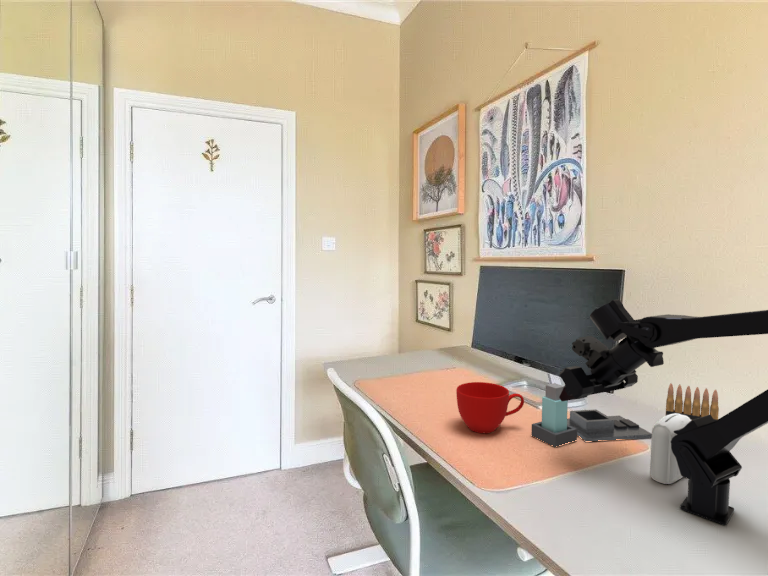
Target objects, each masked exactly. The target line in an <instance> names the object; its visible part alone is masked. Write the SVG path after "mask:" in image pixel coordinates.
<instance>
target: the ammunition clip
mask: <svg viewBox="0 0 768 576" xmlns="http://www.w3.org/2000/svg"><path fill="white" fill-rule="evenodd" d="M676 388H677V389H676V394H674V391H675V390H674V385H673V383H672V382H671V383H670V384H669V385H668V389H667V395H666V400H665V401H666V403H665V415H664V417H665V416H667V415H669V414H674V413H678V414H681V415H686V416H688V417H689V418H690V419H691V420H694V419H697V418H701V417H704V416H707V415H711V416H712V417H713V419H714V420H715V421H716V420H718V419H719V414H720V413H719V411H720V409H719V394H718V391H717V389H714V390H713V393H712V396H711V401H710V394H709V389H708V388H707V387H705V389H704V391H703V394H702V402H701V392H700V388H699V387H698V386H696V387H695V390H694V394H693V400H692V391H691V387H690V385H687V386H686V389H685V394H684V400H683V389H682V385H681V384H679V385H678V386H677V387H676ZM674 395H675V396H674ZM674 397H675V398H674ZM692 401H693V402H692ZM710 402H711V403H710Z"/></svg>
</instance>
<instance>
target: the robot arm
mask: <svg viewBox="0 0 768 576" xmlns="http://www.w3.org/2000/svg"><path fill="white" fill-rule="evenodd" d="M589 318H590V319H591V321H592V322H593V324H594V325H595V326H596V328H597V329H598V330H599V332H600V333H601V334H602V336H603V337H604V338H605V340H607V341H608V340H613V342H618V343H617V344H616V345H614V346H613V347H612V348H608V346H607V345H605V344H604V343H603V342H601V341H600V340H599V339H597V338H596V337H594V336H592V335H587V336H580V337H578V338H576V340H575V341H573V342H572V343H571V345H572V346H571V351H572V352H573V353H575V354H576V355H577V356H579V357H582V358H584V360H586V362H585V365H586V367H587V368H588V369H590V370H589V371H590V374H587V373H586V372H585V370H584V368H583V367H582V366H578V365H574V366H573V365H572V366H569V367H565V368H563V369H562V370H561V371H560V372H559V377H560V379H561V380H562V382H563V384H564V385H563V386H564V388H563V390H562V392H561V394H560V396H559V398H560V400H561V401H568V402H569V401H574V400H575V401H576V400H580V399H585V398H588V396H591V395H597V394H601V393H607V392H612V391H619V390H623V389H627V388H629V387H633V386H634V385H635V384H637V383H638V380H639V377H638V375H637V371H636V370H637V369H638V368H640V367H641V366H642V365H644V364H645V363H647V364H648V366H649V367H651V368H654V367H659V366H662V365H664V351H659V350H657V349H656V348H661V347H666V346H671V345H672V346H673V345H678V344H681V343H686V342H690V341H693V340H696V339H712V338H725V337H727V338H728V337H742V336H760V335H768V309H762V310H755V311H745V312H744V311H743V312H733V313H725V314H716V315H705V316H692V315H684V314H659V315H651V316H644V317H643V318H640V319H639V318H638V319H634V318H633V316H632V315H631V314H630V313H629V311H628V310H627V309H626V308H625V306H624V303H622V301H621V300H620V299H612V300H611V301H609V302H608V303H606V304H603V305H601V306H599V307H598V308H596V309H594V310H593V311H592V312H591V313H590V315H589ZM767 424H768V389H766V390H764V391H762V392H761V393H759V394H758V395H756V396H754V397H753V398H751V399H749V400H748V401H746V402H744V403H743V404H741V405H739V406H738V407H737V408H735V409H733V410H731V411H730V412H728V413H726V414H724V415H723V416H722V417H719V418H718V420H716V421H715V420H714V419H713V417H712V416H711V415H710V414H709V415H707V416H704V417H701V418H697V419H694V420H691V421H690V422H689V423H688V424H687V425H686V426H685V427H684V428H681V429H678V430H675V431H674V433H676V434H677V435H675V436H674V437H673V438H672V439H671V449H672V452H673V454H674V456H675V457H676V460H677V464H678V467H679V470H680V474H681V476H683V477H682V478H685V479H687V480H688V481H687V483H688V484H687V496H686V498H684V500H683V501H682V503H680V506H679V508H680V510H683V511H685V512H687V513H690V514H693V515H696V516H698V517H701V518H704V519H706V520H709V521H712V522H714V523H716V524H720V525H722V526H728V523H729V522H730V519H731V518H732V516H733V514H734V512H735V508H734V507H733V506H730V505H729V504H730V503H729V501H730V490H731V489H730V487H731V478H733V477H736V476H738V475H739V473H740V472H741V470H743V469H742V468H743V467H742V464H741V463H740V462H739V460H737V458H736V457H735V456H734V455H733V454H732V453H731V451H732V450H733V449H734V448H735V446H736V445H737V444H738V443H739V441H740V440H741V439H742V438H744V437H745V436H748V435H749V434H751V433H753V432H754V431H756V430H758V429H760V428H762V427H763V426H766V425H767Z"/></svg>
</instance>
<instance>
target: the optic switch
mask: <svg viewBox="0 0 768 576" xmlns="http://www.w3.org/2000/svg"><path fill="white" fill-rule="evenodd" d="M567 425H569V426H571V427H574V428H576V429H577V435H578V436H580V437H581V438H582V439H584V440H585V441H598V440H616V439H634V440H644V439H645V440H646V439H652V432H649V431H648V430H646V429H644V428H642V427H640V425H639V424H638V423H636V422H634V421H632V420H630V419H628V418H627V419H626V418H625V417H623V416H621V415H607V414H604V413H603V412H601V411H599V410H598V409H579V410H569V418H567ZM578 436H577V437H578ZM581 438H580V439H581ZM582 439H581V440H582ZM585 441H584V442H585Z"/></svg>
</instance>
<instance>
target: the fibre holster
mask: <svg viewBox="0 0 768 576" xmlns="http://www.w3.org/2000/svg"><path fill="white" fill-rule="evenodd" d="M531 435H532V436H534V437H536V438H538V439H540V440H539V441H541V440H542V441H541V442H543V441H544V442H543V443H545V442H546V443H545V444H547V443H548V444H547V445H549V444H550V445H549V446H551V445H553V446H554V447H553V446H552V447H553V448H555V447H556V446H559V445H562V444H565V443H568V442H572V441H575V440H577V441H578V436H577V429H576V428H574V427H571V426H569V425H567V430H565V431H561V432H557V433H554V432H552V431H550V430H547V429H545V428H543V427H542V421H539V422H534V423H531ZM531 435H530V436H531ZM532 436H531V437H532ZM534 437H533V438H534ZM536 438H535V439H536ZM538 439H537V440H538ZM559 447H560V446H559ZM556 448H557V447H556Z"/></svg>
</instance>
